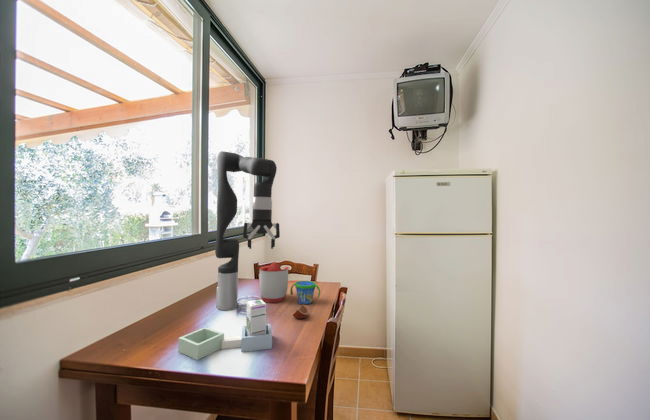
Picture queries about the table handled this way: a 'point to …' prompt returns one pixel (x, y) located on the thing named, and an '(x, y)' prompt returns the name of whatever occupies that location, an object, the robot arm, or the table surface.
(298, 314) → the fruit slice
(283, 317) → the table surface
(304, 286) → the snack cup
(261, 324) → the syrup box
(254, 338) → the holder caddy
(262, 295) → the citrus juicer
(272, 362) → the table surface
